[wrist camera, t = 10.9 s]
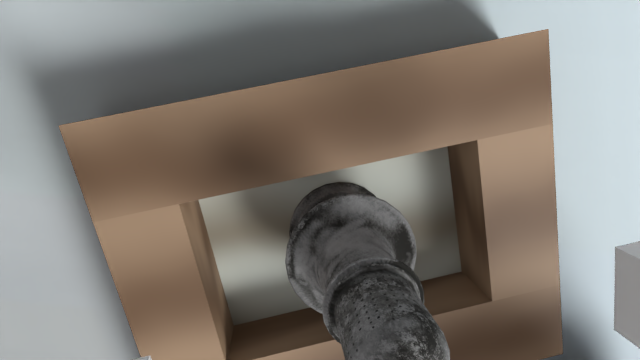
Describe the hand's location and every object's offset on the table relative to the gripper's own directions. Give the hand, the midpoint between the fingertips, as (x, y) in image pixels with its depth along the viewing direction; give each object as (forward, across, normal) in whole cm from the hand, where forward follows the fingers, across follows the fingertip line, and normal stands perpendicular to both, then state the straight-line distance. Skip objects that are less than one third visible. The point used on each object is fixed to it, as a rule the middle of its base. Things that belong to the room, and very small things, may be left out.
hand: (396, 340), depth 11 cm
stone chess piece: (+10, 0, -1) cm, 10 cm away
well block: (+10, 0, -1) cm, 10 cm away
